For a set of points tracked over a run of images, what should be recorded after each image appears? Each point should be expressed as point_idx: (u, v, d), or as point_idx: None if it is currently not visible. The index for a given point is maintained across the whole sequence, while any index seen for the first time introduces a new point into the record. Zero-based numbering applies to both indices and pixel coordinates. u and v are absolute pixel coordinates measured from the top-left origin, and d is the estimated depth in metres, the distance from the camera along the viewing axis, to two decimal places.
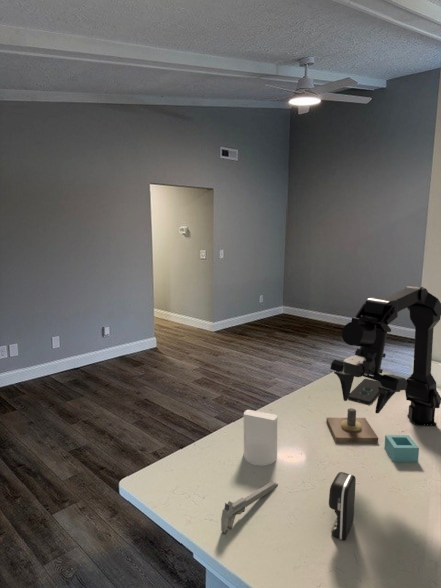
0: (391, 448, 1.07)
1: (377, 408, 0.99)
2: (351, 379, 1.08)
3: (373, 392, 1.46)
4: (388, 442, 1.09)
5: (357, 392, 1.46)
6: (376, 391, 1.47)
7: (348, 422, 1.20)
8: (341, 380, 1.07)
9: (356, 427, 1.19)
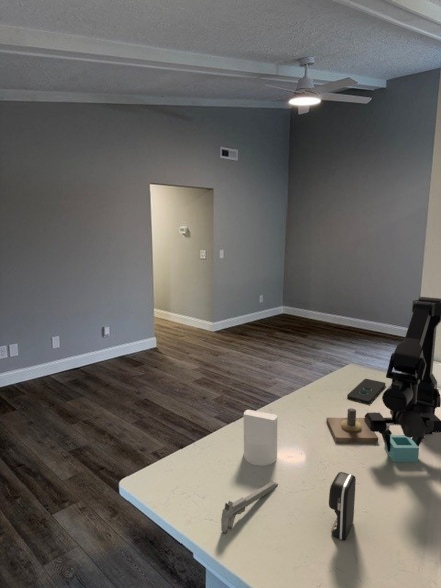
0: (391, 448, 1.07)
1: None
2: None
3: (372, 391, 1.46)
4: None
5: (357, 392, 1.46)
6: (376, 391, 1.47)
7: (348, 422, 1.20)
8: (386, 436, 1.06)
9: (356, 427, 1.19)
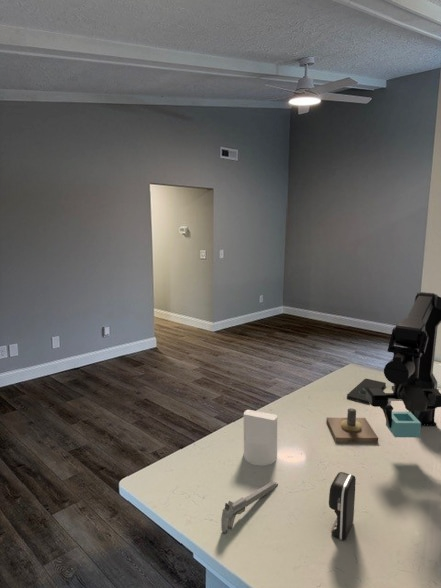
0: (393, 424, 1.05)
1: None
2: None
3: None
4: None
5: (357, 391, 1.47)
6: None
7: (348, 422, 1.20)
8: (388, 412, 1.05)
9: (356, 427, 1.19)
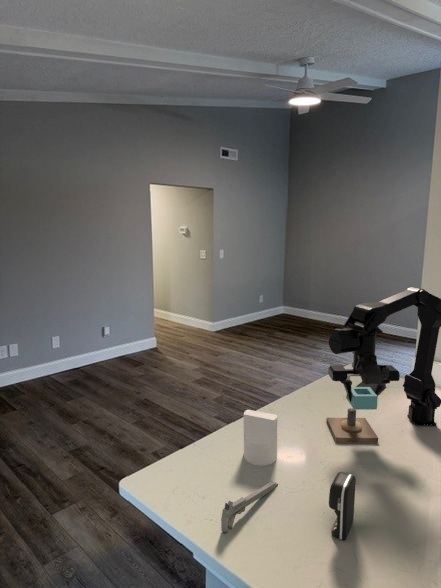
0: (353, 397, 1.14)
1: None
2: None
3: None
4: None
5: None
6: None
7: (348, 422, 1.20)
8: (347, 386, 1.14)
9: (356, 427, 1.19)
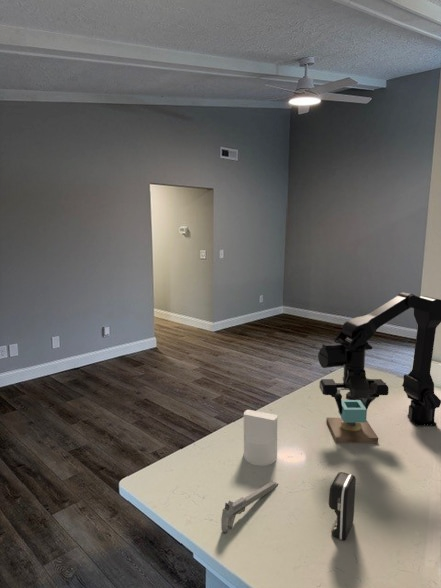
0: (343, 410, 1.18)
1: None
2: None
3: None
4: None
5: None
6: None
7: (348, 422, 1.20)
8: (338, 400, 1.18)
9: (356, 427, 1.19)
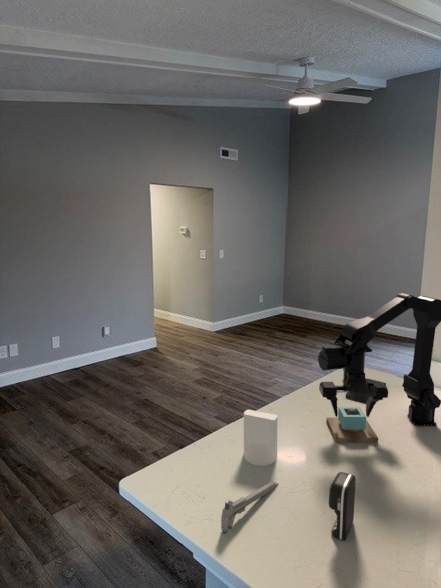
0: (342, 417, 1.18)
1: (369, 413, 1.19)
2: None
3: None
4: (340, 413, 1.21)
5: None
6: None
7: None
8: (333, 402, 1.18)
9: None
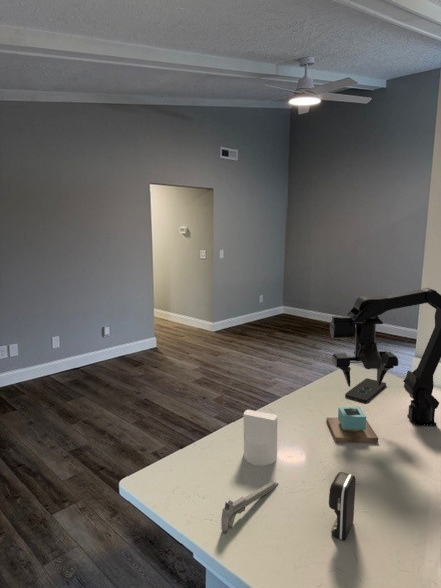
0: (342, 417, 1.18)
1: (380, 382, 1.25)
2: None
3: (371, 391, 1.47)
4: (340, 413, 1.21)
5: (355, 391, 1.47)
6: (375, 390, 1.47)
7: None
8: (346, 372, 1.23)
9: None
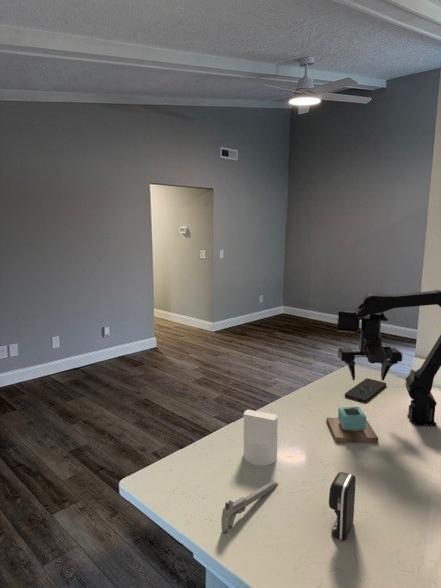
0: (342, 417, 1.18)
1: (384, 377, 1.28)
2: None
3: (371, 391, 1.47)
4: (340, 413, 1.21)
5: (355, 391, 1.47)
6: (375, 390, 1.47)
7: None
8: (351, 366, 1.27)
9: None
